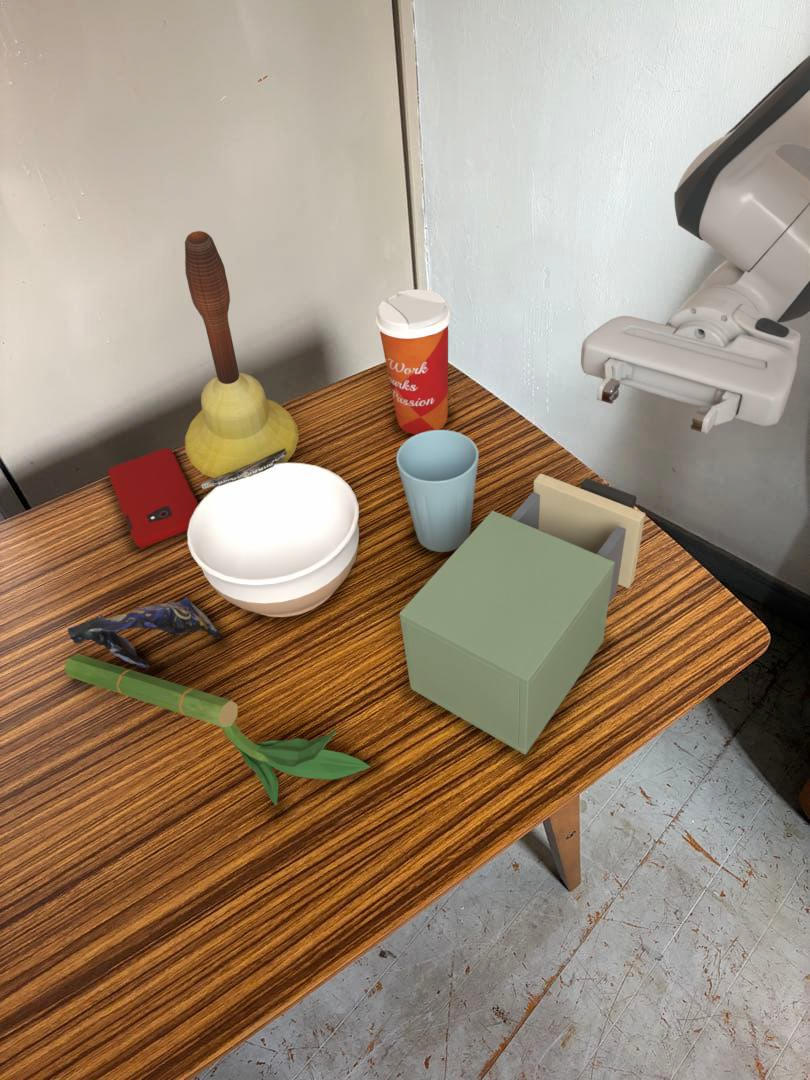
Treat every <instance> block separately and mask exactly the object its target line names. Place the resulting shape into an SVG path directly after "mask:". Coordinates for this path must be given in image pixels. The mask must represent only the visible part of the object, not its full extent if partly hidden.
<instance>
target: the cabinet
mask: <svg viewBox="0 0 810 1080" xmlns="http://www.w3.org/2000/svg"><path fill="white" fill-rule="evenodd" d="M614 564H615V562H614V561H611V560H609V559H606V558H604V557H602V556H599V555H597V554H595V553H592V552H590V551H587V550H585V549H583V548H580V547H578V546H576V545H573V544H571V543H568V542H566V541H564V540H561V539H559V538H557V537H554V536H552V535H549V534H547V533H545V532H542V531H540V530H538V529H535V528H533V527H530V526H528V525H526V524H523V523H521V522H519V521H516V520H514V519H511V518H510V517H509V516H507V515H504V514H502V513H499V512H497V511H495V510H491V511H490V512H489V514H488V515H486V517H485V518H484V519H483V520H482V522H481V523H479V524H478V526H477V527H476V528H475V529H474V530H473V531H472V532H471V533H470V534H469V537H468V538H467V539H466V540H465V541H464V542H463V544H462V545H461V546H460V547H459V548H457V549H455V551H454V552H453V553H452V554H451V556H450V557H449V558H447V560H446V561H445V562H444V563H443V564H442V565H441V567H440V568H438V570H437V571H436V572H435V573H434V574H433V576H432V577H431V578H430V579H429V580H428V581H426V583H425V584H424V585H423V586H422V588H420V590H418V592H417V593H416V594H415V596H413V597H412V599H410V601H409V602H408V603H407V604H406V605H405V606H404V607H403V609H402V610H400V612H399V620H400V627H401V634H402V640H403V646H404V647H403V648H404V653H405V660H406V666H407V674H408V680H409V686H410V690H412V691H414V692H415V693H417V694H419V695H420V696H423V697H424V698H425V699H428V700H429V701H431V702H433V703H434V704H436V705H438V706H440V707H441V708H443V709H445V710H447V711H448V712H450V713H451V714H454V715H455V716H457V717H459V718H460V719H462V720H464V721H466V722H467V723H469V724H470V725H473V726H474V727H476V728H478V729H479V730H481V731H483V732H484V733H487V734H489V735H490V736H492V737H493V738H495V739H497V740H498V741H500V742H502V743H504V744H505V745H507V746H509V747H510V748H512V749H514V750H516V751H517V752H519V753H521V754H523V755H527V754H528V752H529V751H530V749H531V748H532V747H533V746H534V744H535V742H536V740H537V739H538V738H539V737H540V735H541V733H542V732H543V731H544V729H545V728H546V726H547V724H548V723H549V721H551V719H552V717H553V715H554V714H555V713H556V711H557V710H558V709H559V707H560V705H561V704H562V702H563V701H564V700H565V698H566V697H567V695H568V694H569V692H570V691H571V689H572V688H573V686H574V685H575V683H576V682H577V680H578V679H579V678H580V676H581V675H582V674H583V672H584V670H585V669H586V667H587V666H588V664H589V663H590V661H591V660H592V659H593V658H594V656H595V654H596V653H597V652H598V650H599V648H600V647H601V645H602V644H603V642H604V640H605V639H604V638H605V631H606V624H607V618H608V610H609V605H610V603H609V598H610V591H611V584H612V577H613V570H614Z"/></svg>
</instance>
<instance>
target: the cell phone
mask: <svg viewBox="0 0 810 1080" xmlns="http://www.w3.org/2000/svg"><path fill="white" fill-rule="evenodd" d="M107 473H108V477H109V480H110V483H111V485H112V488H113V490H114V493H115V497H116V498H117V501H118V505H119V507H120V510H121V512H122V515H123V517H124V519H125V521H126V524H127V526H128V530H129V533H130V536H131V538H132V540H133V542H134V544H135V545H136V547H138V548H147V547H149V546H152V545H154V544H157V543H160V542H162V541H165V540H167V539H170V538H173V537H175V536H178V535H180V534H183V533H185V532H188V528H189V523H190V519H191V517H192V515H193V513H194V511H195V509H196V508H197V506H198V505H199V504H200V503H199V502H198V499H197V498H196V495H195V494H194V491H193V490H192V488H191V485H190V484H189V482H188V480H187V477H186V475H185V473H184V472H183V469H182V467H181V465H180V463H179V461H178V459H177V457H176V455H175V454H174V451H173V450H172V449H171V448H169V447H165V448H161V449H158V450H155V451H152V452H149V453H147V454H143V455H142V456H140V457H138V458H135V459H131V460H127V461H125V462H123V463H119V464H117V465H114V466H112V467H111V468H109V469H108V472H107Z"/></svg>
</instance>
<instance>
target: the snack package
mask: <svg viewBox="0 0 810 1080" xmlns="http://www.w3.org/2000/svg"><path fill="white" fill-rule="evenodd" d="M112 612H113V613H115V612H116V611H115V610H113V611H112ZM112 612H111V611H109V614H112ZM107 614H108V613H107V612H106V613H105V615H107ZM126 629H128V630H130V629H149V630H159V631H163V632H164V633H171V634H170V636H172V637H175V636H176V635H178V636H180V635H186V634H189V633H191V632H193V631H202V632H203V631H204V632H206V633H208V634H209V635H211V636H212V637H213V638H216V639H217V640H222V639H223V636H222V634H221V633H220V631H219V630H218V629H217V627H216V626H214V624H213V623H212V621H211V620H210V619H209V617H208V616H207V615H206V614H205V613H204V612H203V611H201V610H200V609H199V608H198V607H197V606H196V605H195V603H193V602H192V601H191V600H190V599H189V597H188V596H185V597H184V599H182V600H180V601H170V602H165V603H159V604H151V605H147V606H144V607H143V606H142V607H140V606H136V607H135V609H134V610H132V611H130V612H128V613H123V614H118V615H114V616H111V617H107V618H106V617H105V616H104V613H103V614H99V615H97V616H96V617H94V618H91V619H90V620H86V621H85V622H82V623H80V624H78V625H74V626H70V627H68V628H67V633H68V635H69V638H70V639H71V640H72V642H73V643H74V644H77V645H78V644H82V642H84V641H92V642H95V644H97V645H98V646H103V647H105V648H106V649H107V650H108V651H109V652H111V654H113V656H115V657H118V658H120V659H122V660H123V661H124V662H126V663H127V662H128V663H129V664H131V665H136V666H138V667H139V668H144V669H145V670H146V671H147V670H148V669H150V667H151V663H150V661H147V660H145V659H144V658H141V657H140V656H139V655H137V653H136V649H135V647H134V646H133V645H132V644H131V642H130V641H129V639H127V638H125V637H124V636H121V635H119V634H118V632H120V631H123V630H126ZM180 645H181V646H182V647H186V646H187V645H186V644H184V643H181V644H180ZM172 657H175V654H172ZM156 666H157V667H158V666H159V664H157V665H156Z"/></svg>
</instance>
